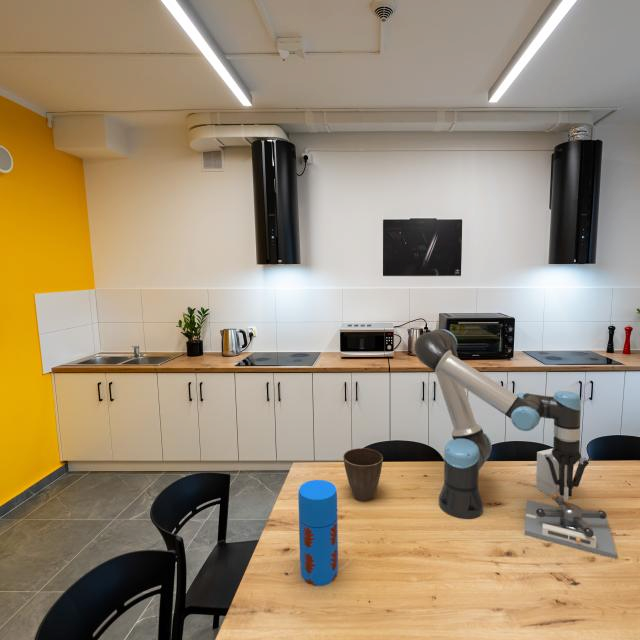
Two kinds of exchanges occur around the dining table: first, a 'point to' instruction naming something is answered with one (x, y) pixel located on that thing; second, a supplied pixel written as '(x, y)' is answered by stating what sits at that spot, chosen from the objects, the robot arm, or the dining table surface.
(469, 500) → the robot arm
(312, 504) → the thermos
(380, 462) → the plant pot
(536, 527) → the stand
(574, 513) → the capstan
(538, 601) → the dining table surface
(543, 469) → the supplement box
